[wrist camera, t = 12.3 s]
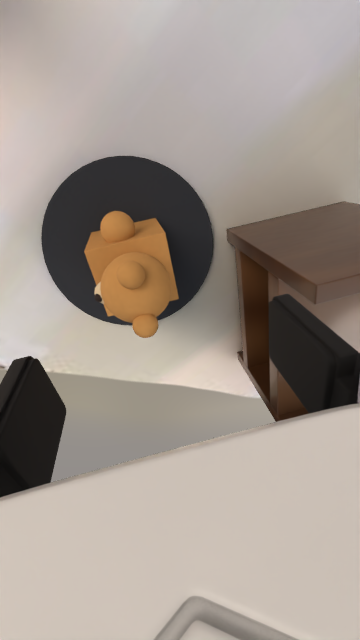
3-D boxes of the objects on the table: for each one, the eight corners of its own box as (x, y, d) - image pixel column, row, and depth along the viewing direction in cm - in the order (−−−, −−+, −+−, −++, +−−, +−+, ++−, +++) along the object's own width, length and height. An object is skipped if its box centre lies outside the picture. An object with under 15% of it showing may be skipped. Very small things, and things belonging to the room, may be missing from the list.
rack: (226, 228, 26) (316, 285, 14) (344, 201, 27) (522, 232, 15) (237, 359, 34) (301, 464, 22) (328, 335, 35) (435, 423, 23)
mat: (9, 178, 21) (6, 178, 21) (199, 138, 22) (201, 137, 22) (80, 337, 29) (79, 340, 28) (219, 302, 30) (220, 304, 29)
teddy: (83, 210, 23) (59, 242, 13) (150, 195, 23) (172, 217, 14) (115, 304, 27) (114, 376, 18) (171, 290, 28) (197, 354, 18)
